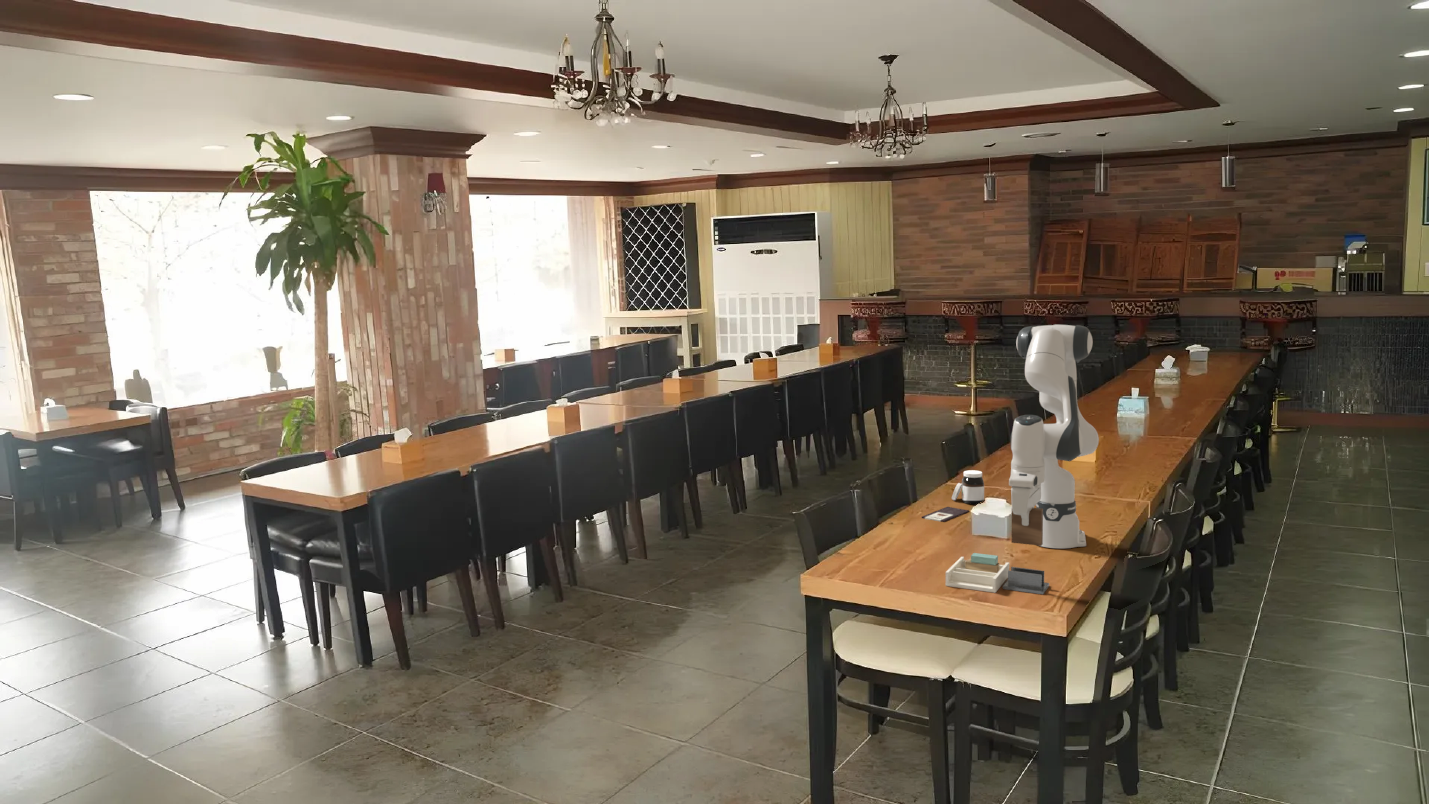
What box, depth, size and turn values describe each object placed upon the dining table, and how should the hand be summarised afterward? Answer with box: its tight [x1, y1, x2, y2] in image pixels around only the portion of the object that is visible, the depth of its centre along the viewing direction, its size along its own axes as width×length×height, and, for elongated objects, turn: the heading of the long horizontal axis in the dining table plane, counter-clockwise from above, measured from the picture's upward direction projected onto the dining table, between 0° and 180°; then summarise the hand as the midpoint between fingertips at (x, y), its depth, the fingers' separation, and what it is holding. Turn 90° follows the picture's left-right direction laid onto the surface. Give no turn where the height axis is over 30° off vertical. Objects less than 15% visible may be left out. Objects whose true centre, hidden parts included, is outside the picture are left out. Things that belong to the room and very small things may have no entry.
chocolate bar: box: [921, 506, 970, 523], centre depth 349 cm, size 9×1×18 cm
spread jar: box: [951, 469, 985, 505], centre depth 366 cm, size 12×11×12 cm
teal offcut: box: [970, 552, 999, 565], centre depth 281 cm, size 3×7×2 cm, turn 60°
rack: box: [945, 556, 1010, 594], centre depth 277 cm, size 16×14×4 cm
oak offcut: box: [966, 558, 1000, 573], centre depth 281 cm, size 3×9×3 cm, turn 60°
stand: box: [1002, 566, 1050, 595], centre depth 270 cm, size 8×11×5 cm
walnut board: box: [1011, 507, 1043, 547], centre depth 268 cm, size 2×8×10 cm, turn 60°
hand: (1027, 523), depth 268 cm, fingers closed on walnut board, 2 cm apart
